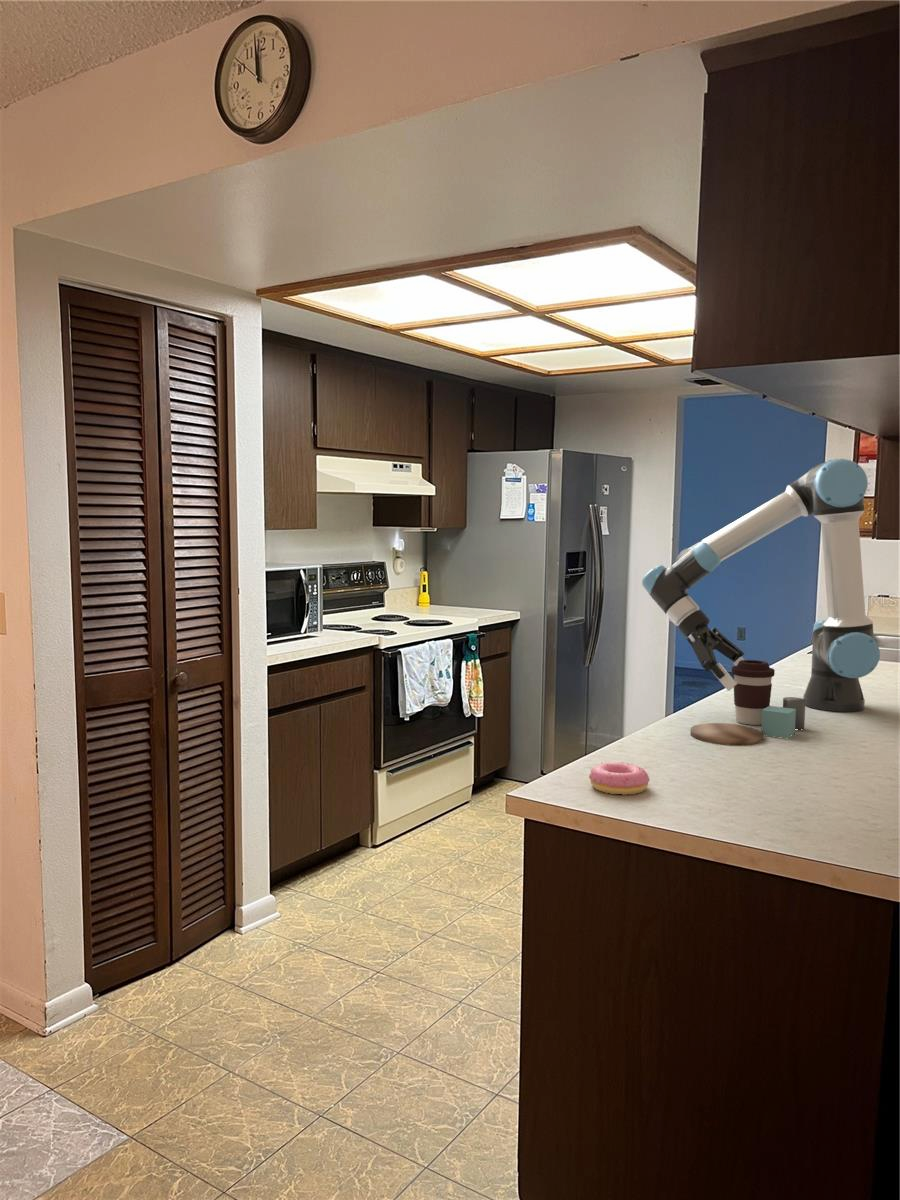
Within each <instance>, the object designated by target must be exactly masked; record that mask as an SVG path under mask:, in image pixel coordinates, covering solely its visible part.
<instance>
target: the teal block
mask: <svg viewBox="0 0 900 1200" xmlns="http://www.w3.org/2000/svg"><path fill="white" fill-rule="evenodd" d="M795 719H796V709H792V708H784V707H783V706H774V705H770V706H768V707H766V708H765V709H763V710H762V723H761V725H760V727H761V729H760V731H762V732H763V734H764V735H765V736H764V737H769V736H775V737H774V738H776V737H782V738H781V739H783V738H789V737H790V736H791V735H793V734H794V733H795V734H796V730H795ZM795 734H794V735H795ZM766 735H767V736H766ZM794 735H793V736H794ZM791 737H792V736H791ZM791 737H790V738H791ZM790 738H789V739H790Z"/></svg>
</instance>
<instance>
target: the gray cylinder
mask: <svg viewBox="0 0 900 1200" xmlns="http://www.w3.org/2000/svg"><path fill="white" fill-rule="evenodd" d="M805 701H806V700H805V699H803V698H802V697H796V696H795V697H794V696H793V697H792V696H786V697H783V698H782V707H784V708H792V709H796V719H795V729H798V730H799V731H802V730H801V729H804V730H805V724H806V723H805V720H806V719H805V718H806V705H805Z"/></svg>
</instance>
